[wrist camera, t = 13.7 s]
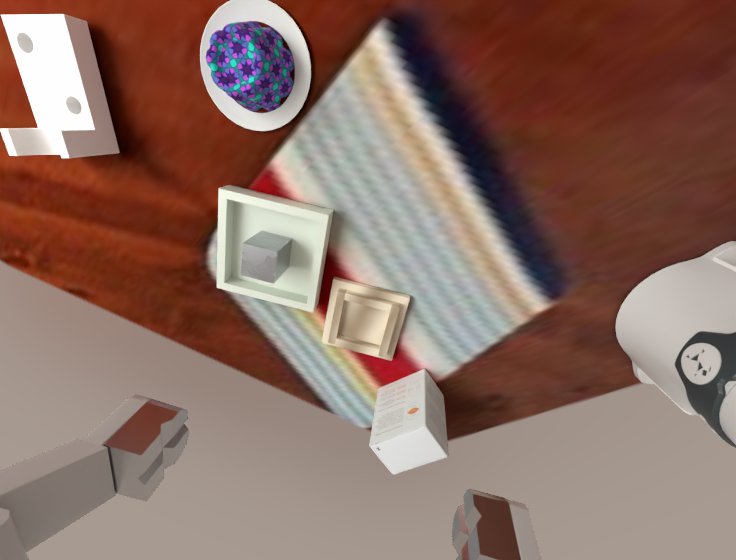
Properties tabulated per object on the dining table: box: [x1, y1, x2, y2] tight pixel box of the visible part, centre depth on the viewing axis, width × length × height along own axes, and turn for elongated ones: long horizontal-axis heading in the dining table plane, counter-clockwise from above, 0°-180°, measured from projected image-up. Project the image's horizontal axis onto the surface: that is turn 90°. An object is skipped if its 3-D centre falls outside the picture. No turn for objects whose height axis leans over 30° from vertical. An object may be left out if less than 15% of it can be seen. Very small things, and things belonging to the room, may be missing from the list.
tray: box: [217, 185, 334, 312], centre depth 44 cm, size 13×13×2 cm
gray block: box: [241, 231, 292, 284], centre depth 42 cm, size 4×4×5 cm
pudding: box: [200, 0, 311, 131], centre depth 35 cm, size 12×12×5 cm
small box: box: [369, 369, 448, 475], centre depth 46 cm, size 8×6×10 cm
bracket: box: [0, 14, 120, 158], centre depth 37 cm, size 13×7×8 cm, turn 178°
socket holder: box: [322, 277, 410, 361], centre depth 46 cm, size 10×10×2 cm
